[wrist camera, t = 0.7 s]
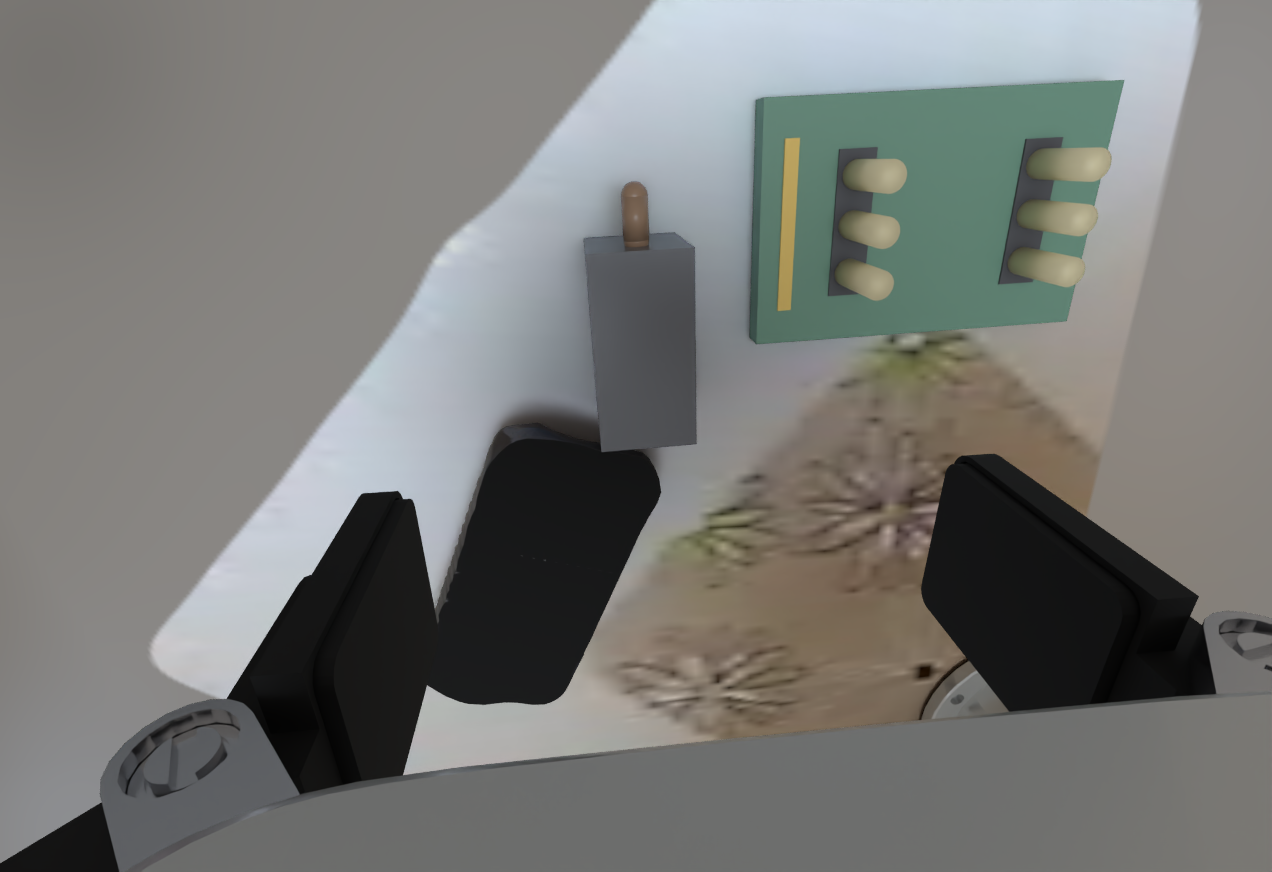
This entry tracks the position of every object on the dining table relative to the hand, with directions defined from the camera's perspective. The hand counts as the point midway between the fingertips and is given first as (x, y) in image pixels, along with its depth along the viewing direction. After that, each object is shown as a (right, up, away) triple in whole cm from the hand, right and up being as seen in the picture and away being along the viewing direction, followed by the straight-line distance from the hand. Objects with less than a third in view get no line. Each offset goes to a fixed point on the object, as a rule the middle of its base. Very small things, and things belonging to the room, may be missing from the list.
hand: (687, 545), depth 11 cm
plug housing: (-1, +8, +18) cm, 19 cm away
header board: (+12, +12, +17) cm, 24 cm away
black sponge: (-6, -4, +23) cm, 24 cm away
